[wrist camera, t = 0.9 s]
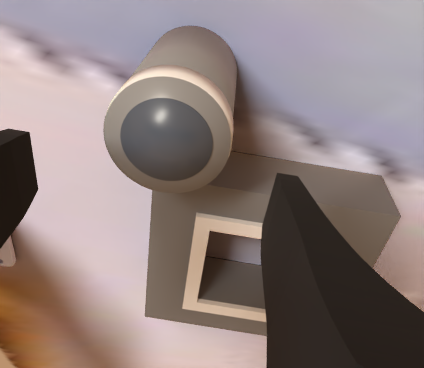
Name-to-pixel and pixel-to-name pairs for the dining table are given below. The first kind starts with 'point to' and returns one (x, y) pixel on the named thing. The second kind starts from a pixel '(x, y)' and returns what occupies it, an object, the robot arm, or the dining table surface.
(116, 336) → the dining table surface
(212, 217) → the grey frame block
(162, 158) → the lens
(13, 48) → the dining table surface
